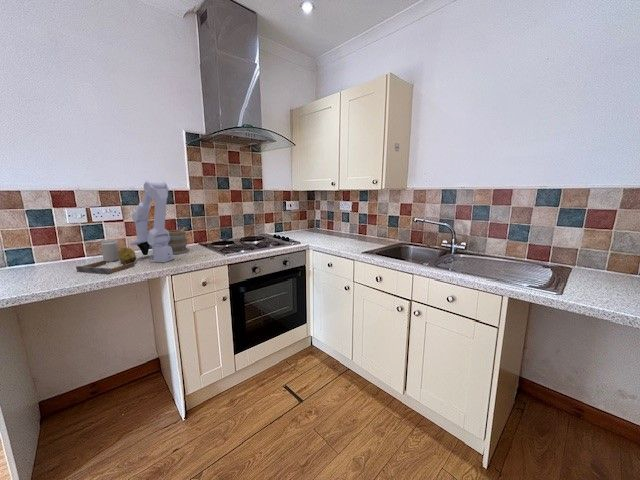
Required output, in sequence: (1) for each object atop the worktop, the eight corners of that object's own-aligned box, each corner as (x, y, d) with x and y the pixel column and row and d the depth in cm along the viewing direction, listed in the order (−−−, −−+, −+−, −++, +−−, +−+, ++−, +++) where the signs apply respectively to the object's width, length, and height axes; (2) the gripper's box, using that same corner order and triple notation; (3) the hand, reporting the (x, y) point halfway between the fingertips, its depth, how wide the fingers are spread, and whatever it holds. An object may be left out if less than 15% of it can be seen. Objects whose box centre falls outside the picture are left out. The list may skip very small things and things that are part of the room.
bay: (134, 266, 140) (134, 261, 140) (109, 274, 127) (108, 269, 127) (104, 264, 145) (103, 259, 144) (76, 271, 132) (75, 266, 131)
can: (111, 262, 147) (107, 241, 145) (100, 262, 149) (96, 241, 146) (123, 259, 154) (120, 239, 152) (112, 258, 156) (109, 238, 154)
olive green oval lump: (117, 266, 140) (115, 251, 138) (119, 261, 150) (117, 247, 149) (136, 264, 144) (134, 249, 143) (137, 259, 155) (135, 245, 153)
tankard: (179, 255, 163) (177, 231, 160) (161, 254, 164) (158, 230, 162) (198, 248, 182) (196, 226, 179) (181, 247, 184) (179, 226, 181)
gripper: (147, 230, 163) (150, 251, 166) (125, 234, 149) (128, 257, 152) (156, 230, 162) (159, 252, 164) (135, 234, 148) (138, 258, 150)
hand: (145, 254), depth 158 cm, fingers closed
